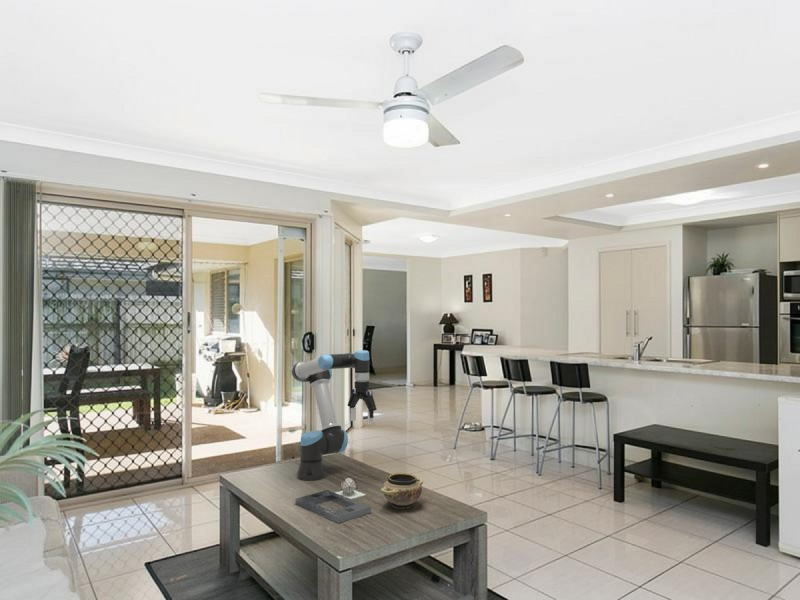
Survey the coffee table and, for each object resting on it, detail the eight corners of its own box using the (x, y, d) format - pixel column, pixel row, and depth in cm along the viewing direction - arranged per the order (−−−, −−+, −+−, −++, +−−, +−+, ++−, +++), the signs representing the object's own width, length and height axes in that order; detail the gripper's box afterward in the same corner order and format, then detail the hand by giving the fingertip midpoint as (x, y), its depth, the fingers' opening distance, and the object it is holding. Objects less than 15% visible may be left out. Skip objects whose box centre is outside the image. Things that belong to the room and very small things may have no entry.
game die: (352, 501, 260) (364, 486, 258) (339, 499, 254) (351, 483, 253) (346, 488, 266) (357, 473, 265) (333, 485, 261) (344, 470, 260)
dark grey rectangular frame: (295, 504, 247) (295, 498, 247) (327, 495, 260) (327, 489, 260) (338, 523, 224) (338, 517, 224) (371, 512, 237) (371, 506, 237)
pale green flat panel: (330, 495, 260) (330, 494, 260) (350, 489, 268) (350, 488, 268) (345, 501, 251) (345, 500, 251) (365, 495, 259) (365, 494, 259)
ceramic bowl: (390, 522, 232) (396, 490, 230) (366, 501, 245) (371, 471, 243) (431, 509, 248) (437, 479, 246) (406, 490, 262) (411, 462, 259)
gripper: (341, 379, 284) (340, 419, 283) (372, 383, 266) (372, 426, 265) (352, 378, 289) (352, 418, 288) (383, 382, 271) (383, 424, 270)
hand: (361, 422), depth 277 cm, fingers open, 13 cm apart
